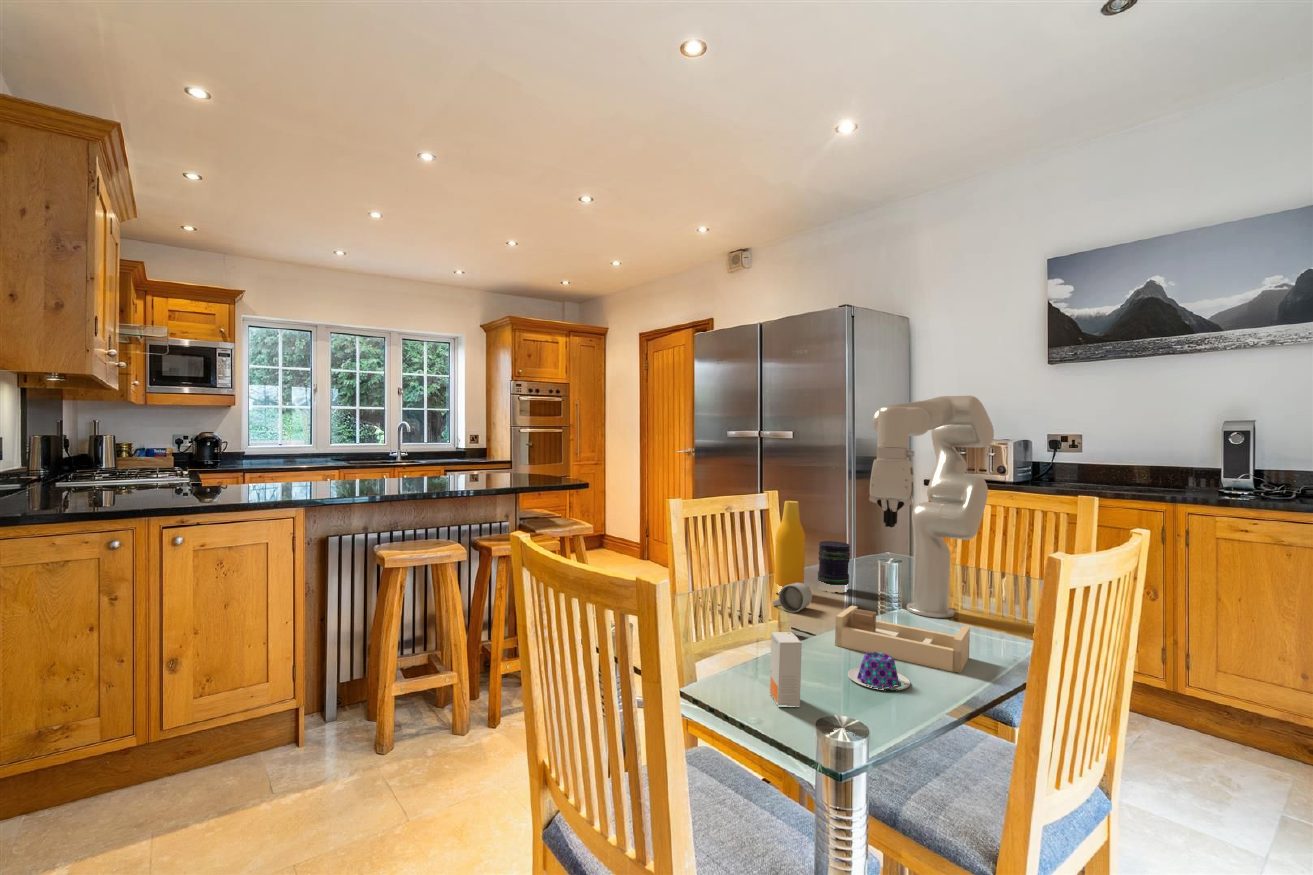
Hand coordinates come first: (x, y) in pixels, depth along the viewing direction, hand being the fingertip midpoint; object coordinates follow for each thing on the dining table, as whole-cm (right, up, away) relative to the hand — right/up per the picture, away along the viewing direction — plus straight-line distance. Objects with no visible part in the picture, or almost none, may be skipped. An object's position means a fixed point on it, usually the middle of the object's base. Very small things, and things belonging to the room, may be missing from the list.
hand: (890, 526), depth 158 cm
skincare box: (-36, -26, -44) cm, 62 cm away
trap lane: (-3, -27, -14) cm, 31 cm away
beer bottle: (-18, -27, +36) cm, 49 cm away
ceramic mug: (-21, -27, +19) cm, 39 cm away
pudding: (-15, -27, -32) cm, 45 cm away
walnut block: (-10, -24, -10) cm, 28 cm away
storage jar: (-2, -27, +44) cm, 51 cm away
